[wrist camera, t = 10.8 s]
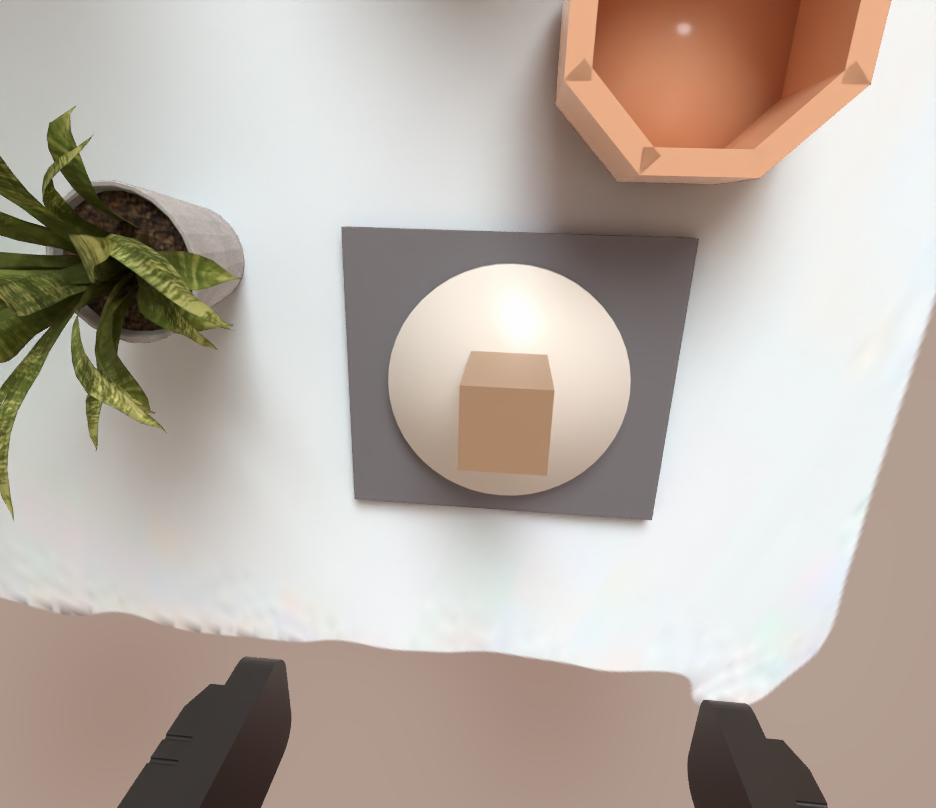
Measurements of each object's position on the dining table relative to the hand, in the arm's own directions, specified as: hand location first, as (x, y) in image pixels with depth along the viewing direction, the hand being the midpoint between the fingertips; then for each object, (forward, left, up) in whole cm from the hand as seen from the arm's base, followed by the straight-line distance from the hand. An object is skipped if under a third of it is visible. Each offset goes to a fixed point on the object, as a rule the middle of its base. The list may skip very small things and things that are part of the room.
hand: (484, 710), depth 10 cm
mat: (0, 0, -22) cm, 22 cm away
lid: (0, 0, -21) cm, 21 cm away
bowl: (+7, +16, -22) cm, 28 cm away
